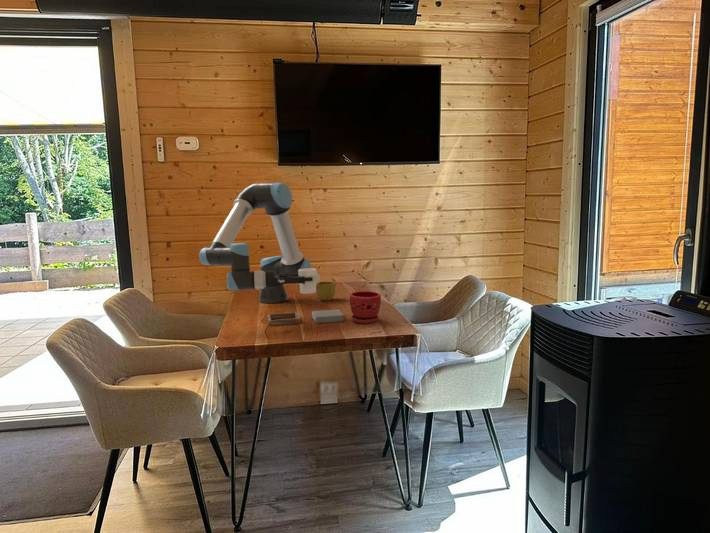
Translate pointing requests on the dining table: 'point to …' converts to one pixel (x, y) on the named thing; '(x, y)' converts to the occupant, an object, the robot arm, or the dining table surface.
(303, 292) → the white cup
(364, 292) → the plant pot
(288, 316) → the walnut frame
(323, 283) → the flower pot
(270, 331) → the dining table surface
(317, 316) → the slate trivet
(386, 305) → the dining table surface
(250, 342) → the dining table surface
